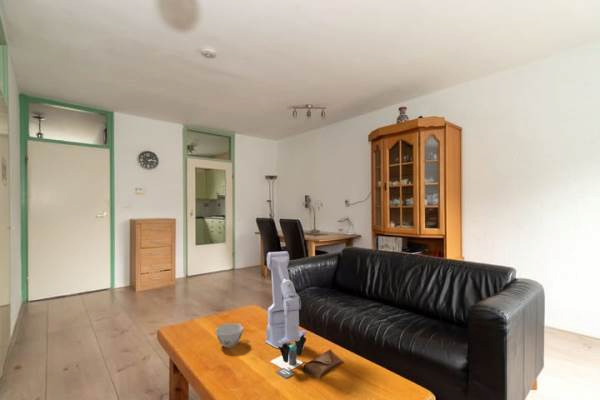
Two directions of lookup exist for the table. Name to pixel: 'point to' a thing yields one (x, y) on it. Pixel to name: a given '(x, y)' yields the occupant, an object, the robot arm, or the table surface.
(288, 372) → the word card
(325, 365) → the sunglasses case
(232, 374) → the table surface
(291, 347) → the marker
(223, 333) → the teacup
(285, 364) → the paper
